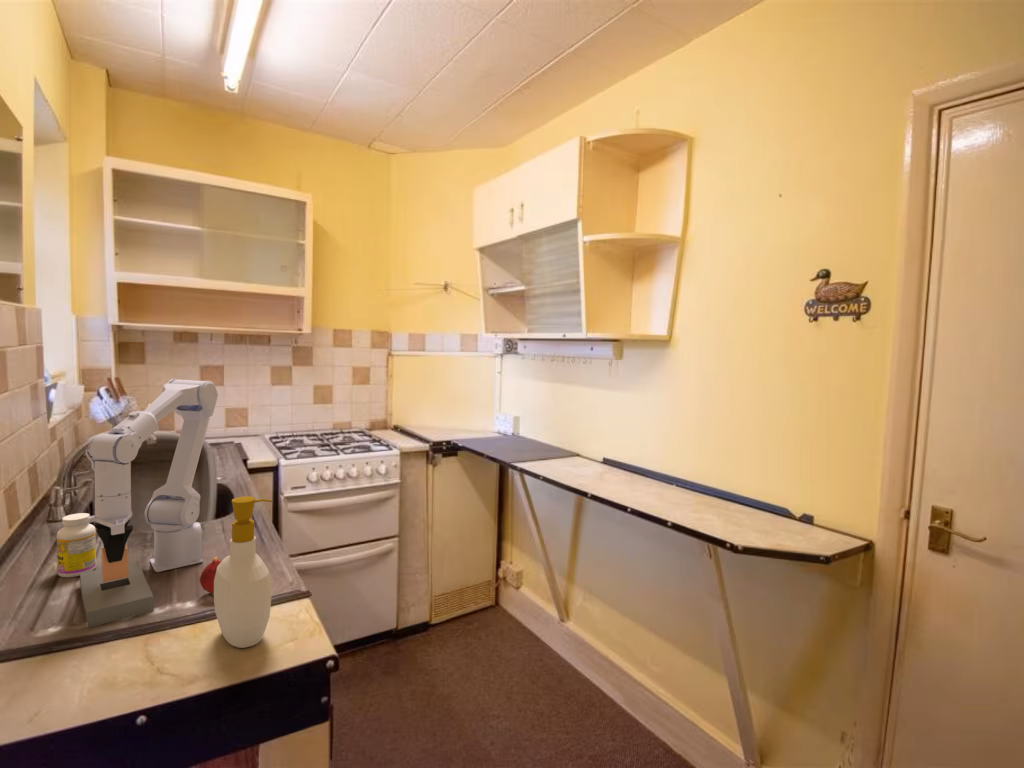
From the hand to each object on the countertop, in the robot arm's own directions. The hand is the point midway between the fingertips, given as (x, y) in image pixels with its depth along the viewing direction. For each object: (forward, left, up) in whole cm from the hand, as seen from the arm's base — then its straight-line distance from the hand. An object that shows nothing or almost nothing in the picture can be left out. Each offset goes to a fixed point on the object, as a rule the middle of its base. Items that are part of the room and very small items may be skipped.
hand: (114, 558), depth 104 cm
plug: (0, 0, -4) cm, 5 cm away
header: (0, 0, -8) cm, 9 cm away
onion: (-16, +10, -9) cm, 21 cm away
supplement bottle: (+5, -19, -9) cm, 22 cm away
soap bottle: (-16, +30, -9) cm, 35 cm away
